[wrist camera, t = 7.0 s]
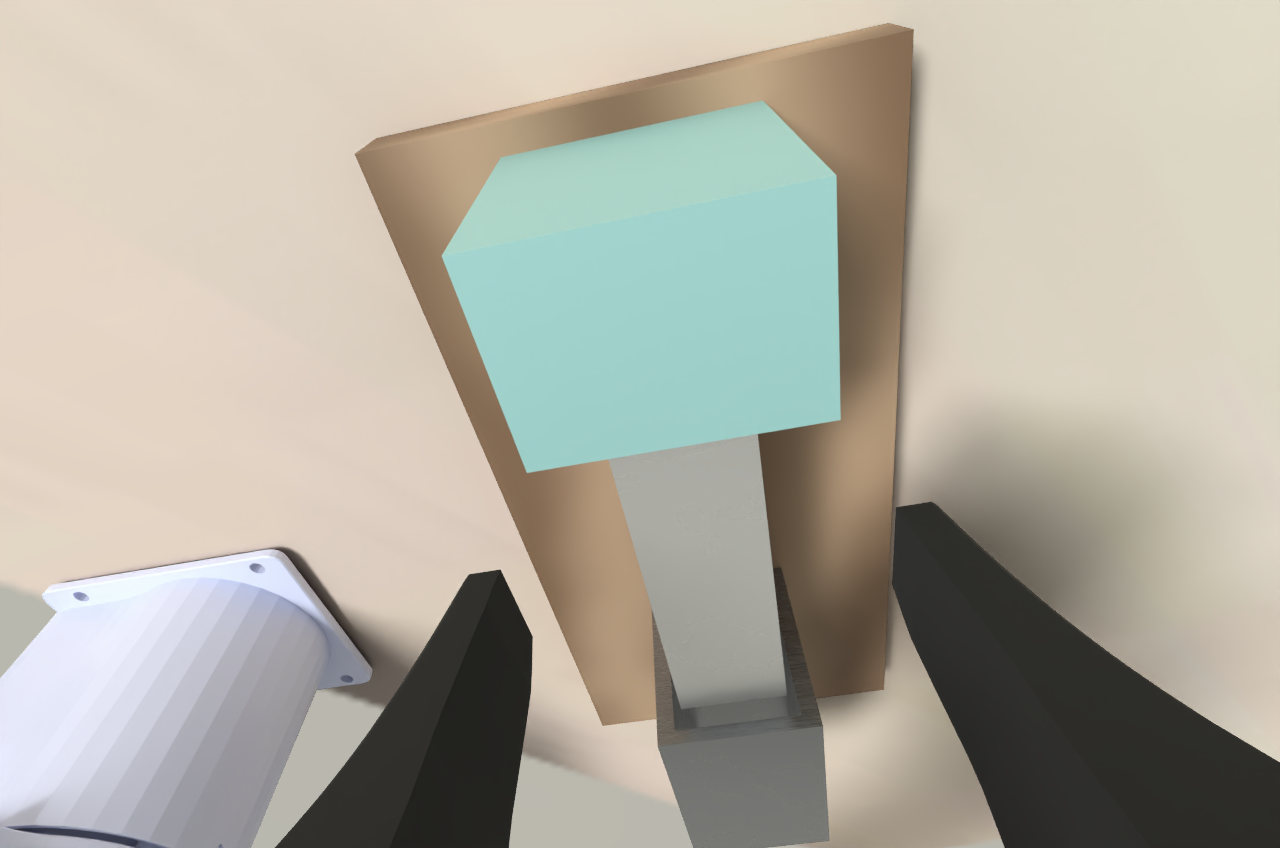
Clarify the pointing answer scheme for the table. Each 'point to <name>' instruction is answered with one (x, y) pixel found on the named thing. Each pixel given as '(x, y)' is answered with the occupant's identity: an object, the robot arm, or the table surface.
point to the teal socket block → (655, 287)
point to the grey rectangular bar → (707, 567)
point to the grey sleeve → (747, 755)
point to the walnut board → (790, 459)
